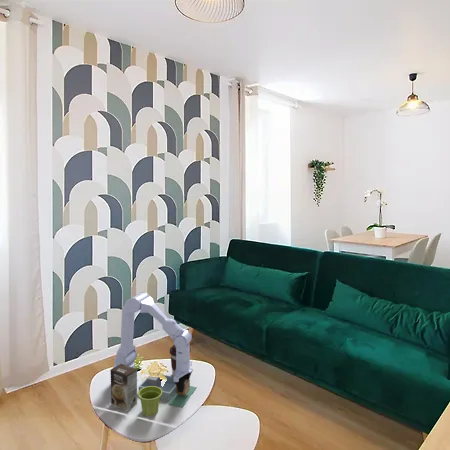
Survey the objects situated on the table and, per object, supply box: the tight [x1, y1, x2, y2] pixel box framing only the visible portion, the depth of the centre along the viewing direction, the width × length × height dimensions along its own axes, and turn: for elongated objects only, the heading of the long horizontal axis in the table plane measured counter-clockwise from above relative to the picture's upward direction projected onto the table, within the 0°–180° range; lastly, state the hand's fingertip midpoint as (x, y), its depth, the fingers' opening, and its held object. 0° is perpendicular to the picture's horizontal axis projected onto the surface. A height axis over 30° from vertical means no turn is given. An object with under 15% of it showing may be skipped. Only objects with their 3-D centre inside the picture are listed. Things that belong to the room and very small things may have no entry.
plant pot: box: [137, 386, 162, 417], centre depth 151 cm, size 9×9×9 cm
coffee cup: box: [169, 344, 192, 377], centre depth 178 cm, size 10×10×15 cm
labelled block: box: [175, 379, 191, 396], centre depth 161 cm, size 4×4×5 cm
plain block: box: [146, 375, 161, 387], centre depth 167 cm, size 4×4×5 cm
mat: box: [168, 385, 197, 408], centre depth 162 cm, size 6×15×1 cm, turn 162°
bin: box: [138, 374, 176, 401], centre depth 167 cm, size 15×12×4 cm
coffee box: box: [109, 364, 138, 412], centre depth 154 cm, size 9×6×16 cm
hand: (182, 388), depth 161 cm, fingers closed on labelled block, 4 cm apart
